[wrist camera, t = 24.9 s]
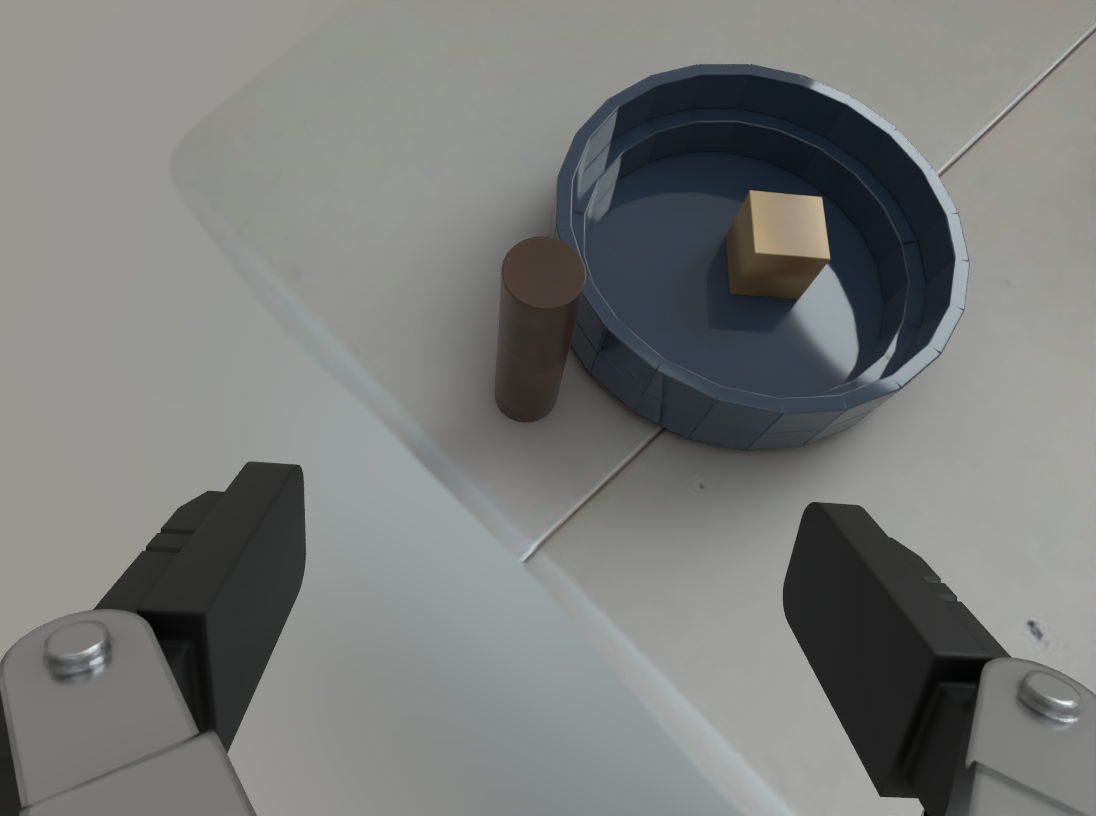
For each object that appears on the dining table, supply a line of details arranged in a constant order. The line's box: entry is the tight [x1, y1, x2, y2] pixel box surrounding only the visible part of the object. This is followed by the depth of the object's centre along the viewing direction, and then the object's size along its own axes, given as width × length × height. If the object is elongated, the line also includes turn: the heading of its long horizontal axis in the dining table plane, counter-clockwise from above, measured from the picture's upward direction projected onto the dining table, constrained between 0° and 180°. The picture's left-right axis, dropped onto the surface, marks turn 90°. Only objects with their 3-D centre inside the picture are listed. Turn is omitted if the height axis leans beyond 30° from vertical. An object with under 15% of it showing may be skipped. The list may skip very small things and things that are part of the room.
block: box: [726, 190, 830, 300], centre depth 34 cm, size 4×4×4 cm
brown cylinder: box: [495, 237, 586, 422], centre depth 28 cm, size 3×3×10 cm
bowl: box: [549, 64, 970, 450], centre depth 34 cm, size 18×19×5 cm
